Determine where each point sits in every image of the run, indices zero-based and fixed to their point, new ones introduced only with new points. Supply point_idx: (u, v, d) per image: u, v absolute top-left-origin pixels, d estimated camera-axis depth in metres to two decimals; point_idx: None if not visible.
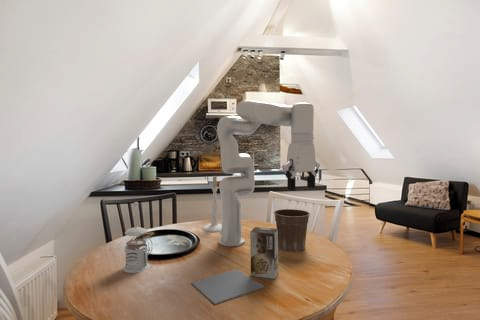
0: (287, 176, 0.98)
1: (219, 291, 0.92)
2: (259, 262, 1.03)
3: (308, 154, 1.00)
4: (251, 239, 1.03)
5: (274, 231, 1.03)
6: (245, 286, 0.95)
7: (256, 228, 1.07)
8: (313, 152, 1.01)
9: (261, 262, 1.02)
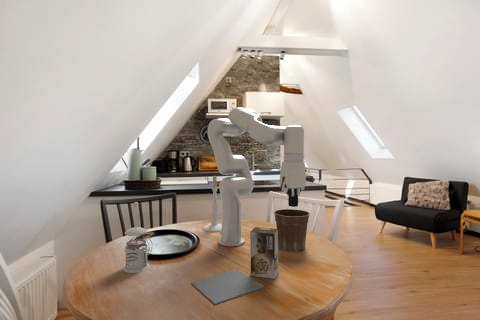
0: (288, 194, 1.11)
1: (219, 291, 0.92)
2: (259, 262, 1.03)
3: (299, 172, 1.10)
4: (251, 239, 1.03)
5: (274, 231, 1.03)
6: (245, 286, 0.95)
7: (256, 228, 1.07)
8: (304, 170, 1.12)
9: (261, 262, 1.02)
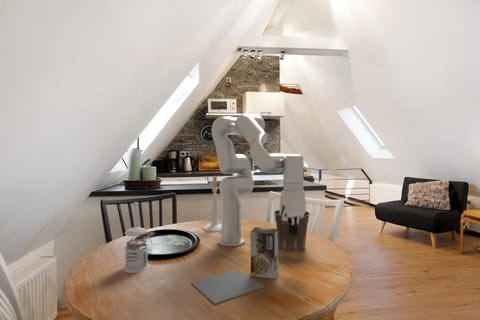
0: (288, 222, 1.12)
1: (219, 291, 0.92)
2: (259, 262, 1.03)
3: (299, 200, 1.11)
4: (251, 239, 1.03)
5: (274, 231, 1.03)
6: (245, 286, 0.95)
7: (256, 228, 1.07)
8: (303, 198, 1.12)
9: (261, 262, 1.02)
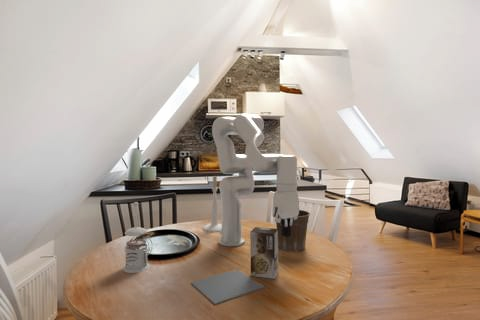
0: (281, 224, 1.10)
1: (219, 291, 0.92)
2: (259, 262, 1.03)
3: (292, 202, 1.09)
4: (251, 239, 1.03)
5: (274, 231, 1.03)
6: (245, 286, 0.95)
7: (256, 228, 1.07)
8: (297, 199, 1.10)
9: (261, 262, 1.02)
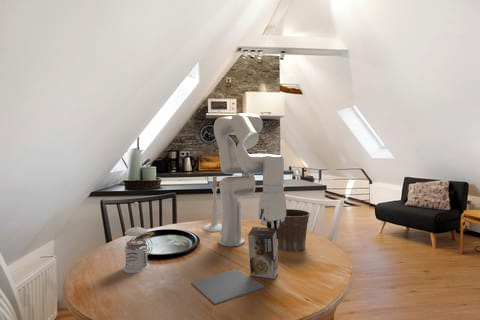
0: (268, 227, 1.06)
1: (219, 291, 0.92)
2: (259, 263, 1.02)
3: (278, 203, 1.05)
4: (249, 241, 1.01)
5: (272, 233, 1.00)
6: (245, 286, 0.95)
7: (254, 228, 1.05)
8: (284, 201, 1.07)
9: (260, 264, 1.02)
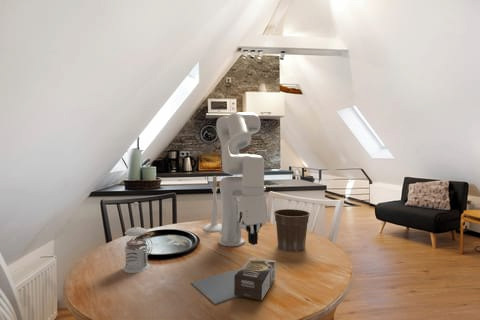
0: (247, 231, 1.01)
1: (219, 291, 0.92)
2: None
3: (258, 206, 1.00)
4: None
5: (259, 292, 0.86)
6: None
7: (237, 281, 0.89)
8: (264, 203, 1.02)
9: None
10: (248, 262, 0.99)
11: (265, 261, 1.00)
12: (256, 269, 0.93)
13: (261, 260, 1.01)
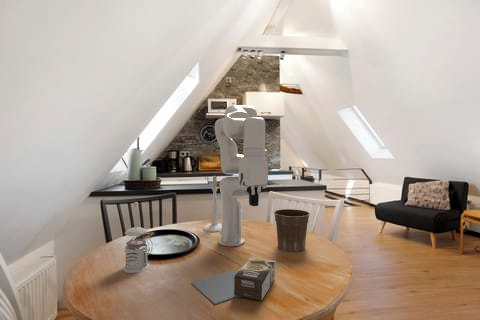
0: (248, 192, 1.02)
1: (219, 291, 0.92)
2: None
3: (259, 168, 1.01)
4: None
5: (259, 292, 0.86)
6: None
7: (237, 281, 0.89)
8: (265, 166, 1.02)
9: None
10: (248, 262, 0.99)
11: (264, 261, 1.00)
12: (256, 269, 0.93)
13: (261, 260, 1.01)
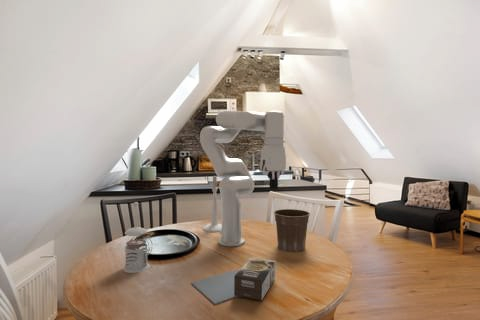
0: (269, 177, 1.16)
1: (219, 291, 0.92)
2: None
3: (279, 155, 1.15)
4: None
5: (259, 292, 0.86)
6: None
7: (237, 281, 0.89)
8: (283, 153, 1.17)
9: None
10: (248, 262, 0.99)
11: (264, 261, 1.00)
12: (256, 269, 0.93)
13: (261, 260, 1.01)
